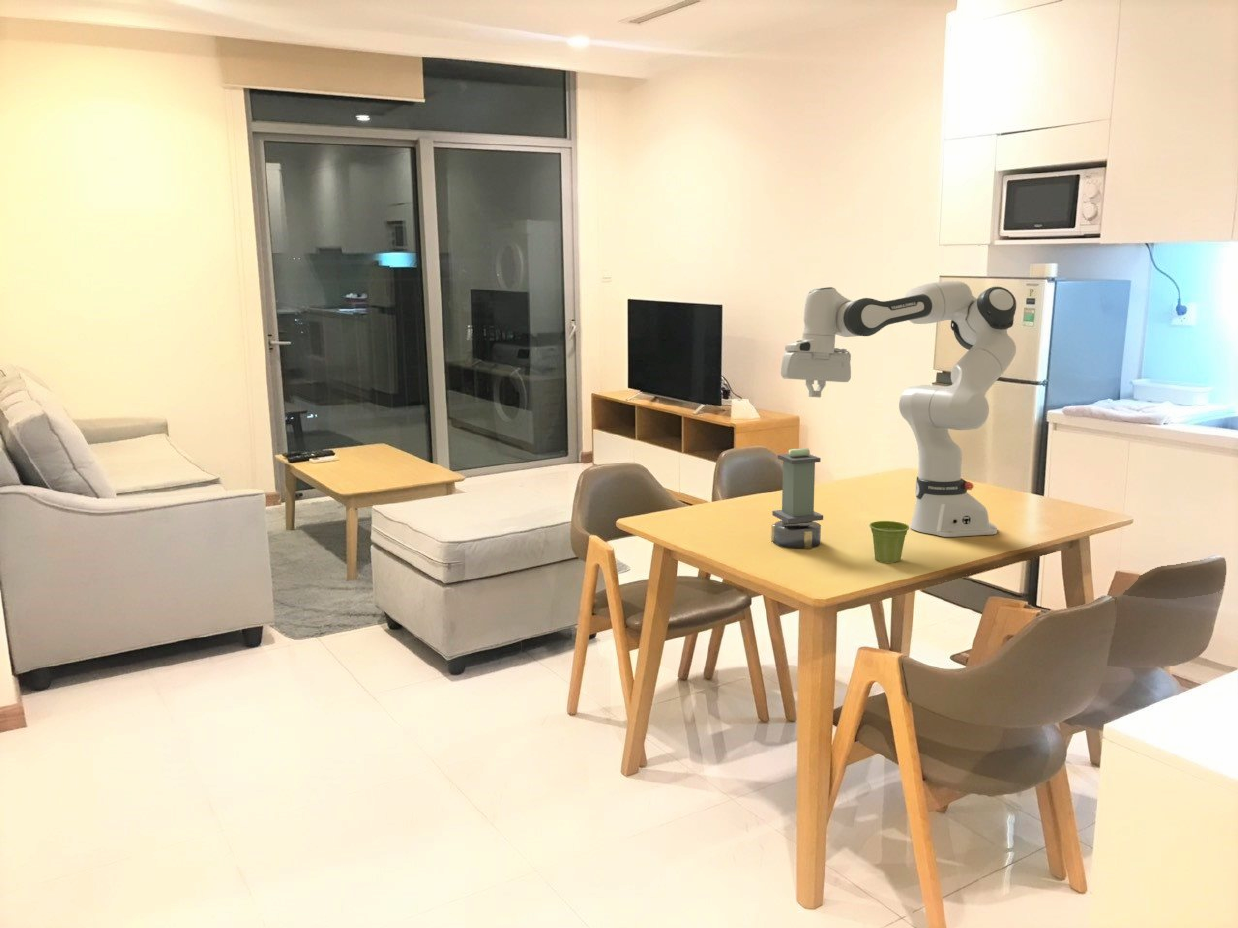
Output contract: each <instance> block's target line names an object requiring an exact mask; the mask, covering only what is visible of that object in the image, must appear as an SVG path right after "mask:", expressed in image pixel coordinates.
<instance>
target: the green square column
mask: <svg viewBox="0 0 1238 928" xmlns="http://www.w3.org/2000/svg"><path fill="white" fill-rule="evenodd" d="M810 452H811V450H810V449H809V447H807V448H805V447H804V448H793V449H789V450H788V453H787V454H785V453H783V454H778V455H777V459H778V460H781V461H782V491H781V493H782V494H781V495H782V496H781V497H782V498H781V509H778V510H776V509H775V510H772V512H771V513H772V517H775V518H777V519H780V521H782V523H783V525H789V524H799V523H809V522H812V521H813V522H816V521H817V522H818V521H823V520H824V515H823V514H821V513H819V512H816V511H815V481H816V477H815V475H816V474H815V473H816V463H821V457H818V456H816V455H814V454H811V453H810Z"/></svg>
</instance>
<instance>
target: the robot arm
mask: <svg viewBox="0 0 1238 928" xmlns="http://www.w3.org/2000/svg"><path fill="white" fill-rule="evenodd" d="M1016 310H1017V300H1016V297H1015V296H1014V294H1013V292H1011V291H1010V290H1009V289H1007V288H1005V287H1003V286H1002V287H1001V286H992V287H988V288H987V289H986V290H983V292H981V293H980V294H979V295H978V297H977V298H976V297H975V296H974V294H973V292H972V289H971V288H970V286H969V285H968V284H967V283H965V282H963V281H959V280H950V281H949V280H947V281H937V282H931V283H930V282H929V283H926V284H922V285H918V286H916V287H914V288H911V289H909V290H908V291H907V293H906V294H905V295H904V297H901V298H896V299H892V300H885V301H884V300H883V301H882V300H878V299H875V298H871V297H862V298H860V299H857V300H851V299H849V298H847V297H845V296H844V295H842V294H841V293H840V292H839V291H837V289H836V288H835V287H831V286H829V287H820V288H814V289H812V290H810V291H809V292H808V293H807V295H806V298H805V304H804V311H803V323H804V329H803V332H802V338H801V340H800V339H799V340H797V341H796V340H795V341H794V342H789V343H787V344H785V346H784V351H785V353H784V355H783V357H782V362H781V368H780V369H781V371H780V375H781V377H782V378H783V379H788V380H801V381H805V386H806V388H807V390H808V397H809V398H821V397H822V392H823V390H824V388H825V387H826V383H827V382H833V383H834V382H835V383H837V382H838V383H849V382H850V380H851V378H852V369H851V368H852V366H851V361H852V359H851V357H852V354H851V352H850V351H849V350H847V349H846V348H838V347H836V345H835V343H836V335H837V336H840V337H843V338H850V337H852V338H853V337H871V336H873V335H875V334H877V333H878V332H880V331H881V330H882V329H884V328H885V327H887V326H889V325H893V324H897V323H903V322H907V321H909V322H910V323H912V324H914V325H915V324H916V325H927V324H935V323H940V322H943V321H950V330H951V331H952V332H953V334H954V337H955V339H956V341H957V342H958V343H959V345H960V346H962V348H964V349H965V350H967V351H966V352H965V353H964V355H962V357H961V358H960V359H959V360H958V361H957V362H956V363H955V364H954V365H953V367H952V368H951V370H950V380H951V385H948V386H939V385H932V384H931V385H930V384H922V385H921V384H920V385H915V386H914V385H913V386H909V387H907V388H906V389H905V390H904V391H903V392H902V394H901V396H900V398H899V401H898V409H899V412H900V415H901V416H902V418H903V419H904V420H905V421H906V422H907V423H908V425H909V426H910V428H911V430H912V432H913V435H914V438H915V441H916V445H917V450H918V475H917V476H916V482H915V493H914V494H915V497H916V499H915V500H916V501H915V506H914V507H915V508H914V510H913V511H914V512H913V516H912V518H911V519H912V520H911V522H910V525H909V529H912V530H913V531H917V532H920V533H923V534H929V535H935V536H938V537H939V536H940V537H944V538H952V537H970V536H972V537H973V536H985V535H988V536H989V535H997V533H998V528H997V526H996V525H995V524H994V523H992V522H990V518H989V512H988V509H987V508H986V507H985V506H984V505H983V504H982V503H981V502H980V501H979V500H978V499H976V498H975V497H974V496H972V495H971V494H970V493H969V492H968V491H973V489H974V487H975V486H974V484H973V483H972V482H970V481H967V480H965V479H964V478H962V461H963V460H962V459H963V452H962V449H961V448H960V446H959V445H958V444H957V443H955V442H954V440H953V439H952V438H951V435H950V433H949V430H953V431H954V430H955V431H970V430H977V429H979V428H981V427H982V426H983V425H984V424H985V423H986V421H987V419H988V417H989V413H990V407H989V406H990V405H989V402H988V400H987V398H986V393H987V392H988V391H989V390H990V388H992V386H993V385H994V384H995V383H996V382H997V380H998V379H999V378H1000V377H1001V376H1002V375H1003V374H1004V373H1005V371H1006V370H1007V369H1008V367H1009V366H1010V364H1011V363H1012V361H1013V359H1014V358H1015V355H1016V353H1017V346H1016V343H1015V341H1014V340H1013V338H1012V337H1011V336H1009V334H1008V329H1010V328H1012V327H1013V326H1014V320H1015V315H1016V312H1017V311H1016ZM815 381H817V385H818V386H817V389H816V390H815V389H814V386H813V385H815Z"/></svg>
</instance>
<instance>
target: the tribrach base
mask: <svg viewBox="0 0 1238 928" xmlns="http://www.w3.org/2000/svg"><path fill="white" fill-rule="evenodd" d="M821 527H822V525H821V524H820V523H818V521H817V522H816V521H812V522H809V523H799V524H789V525H783V523H782V520H779V521H776V522H775V523H772V524H771V531H770V534H771V535H770V538H771V539H770V542H771V543H772V542H773V544H774V545H775V546H777V547H780V548H785V549H789V550H790V549H792V550H812V549H813V548H818V547H819V546H820V545H821V534H822V528H821Z"/></svg>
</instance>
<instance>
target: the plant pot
mask: <svg viewBox="0 0 1238 928" xmlns="http://www.w3.org/2000/svg"><path fill="white" fill-rule="evenodd" d="M869 528H870V529H871V530H870V531H871V533H872V539H873V542H872V543H873V549H874V553H873V554H874V559H875V560H876V561H879V562H881V563H887V564H893V563H896V562H900V561H901V559H902V555H903V550H904V544H905V538H906V536H907V533H908V531H909V530H910V525H909V524H907V523H903V522H901V521H900V522H899V521H895V520H894V521H893V520H892V521H890V520H880V521H879V520H876V521H872V522H871V523H869Z"/></svg>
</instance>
